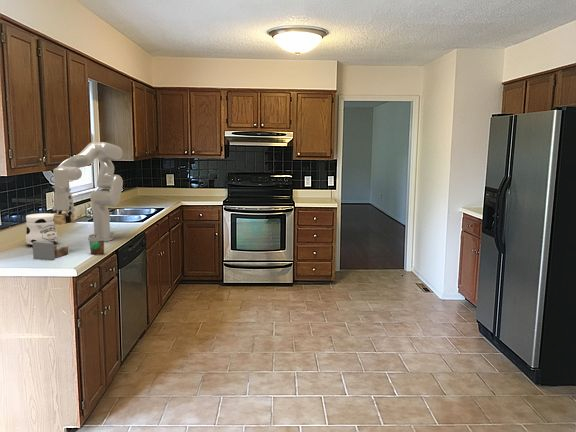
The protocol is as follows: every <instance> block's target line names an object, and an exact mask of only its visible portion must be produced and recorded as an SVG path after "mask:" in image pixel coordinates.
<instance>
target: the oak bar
mask: <svg viewBox="0 0 576 432" xmlns="http://www.w3.org/2000/svg"><path fill="white" fill-rule="evenodd" d="M71 223H75V214H74V212H73V213H72V215H71V222H70V223H69V224H71ZM54 224H55V226H62V225H66V224H67V225H68V223H66V212H64V213H62V214H58V215H56V214H54Z"/></svg>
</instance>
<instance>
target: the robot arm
mask: <svg viewBox="0 0 576 432" xmlns="http://www.w3.org/2000/svg"><path fill="white" fill-rule="evenodd" d="M123 154H124V153H123V150H122V148H121V146H118V145H116V144H113V143H109V142H106V141H105V142H104V141H92V142H89V143H88V144H87V145H86V146H85V147H84V148H83V149H82V150H81V151H80V152H79V153H78V154H76V155H72V156H71V157H68V158H67V159H65V160H63V161H62V162H61V163H60V164H59V165H57V167H55V168H53V184H54V185H53V186H54V193H53V207H52V211H53V212H54V213H55V215H58V214H63V213H62V212H64V213H66V223H67V224H71V223H72V222H71V215H72V213H74V212H75V211H76V209H75V205H74V199H73V194H72V192H71V188H70V181H77V180H80V179H81V178H82V176H83V171H82V170H81V169H80V168H84V167H88V166H90V165H91V164H92V163H93V162H94V161H95V159H98V161H99V165H100V166H99V167H100V168H99V171H98V176H97V180H96V186H97V187H98V188H99V189H100V190H99V189H97V190H94V191H92V192H91V194H90V203H91V206H92V219H93V220H92V221H93V234H96V236H100V237H104V242H110V241H113V240H114V237H113V235H115V232H114V231H111V223H110V221H111V220H110V210H109V208H108V207H116V206H117V205H118V204H119V202H120V199H121V197H122V196H121V195H122V190H123V185H124V181H123V178H122V177H121V175H119V174H114V173H115V165H114V163H113V162H112V160H113V161H114V160H121V158H122V157H123ZM70 222H71V223H70Z"/></svg>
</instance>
